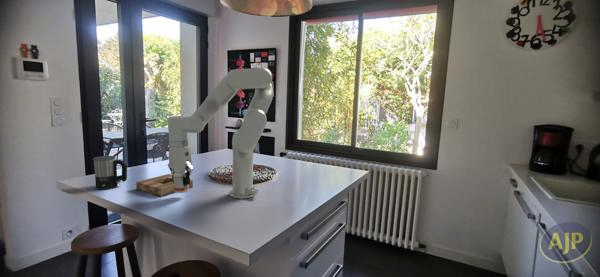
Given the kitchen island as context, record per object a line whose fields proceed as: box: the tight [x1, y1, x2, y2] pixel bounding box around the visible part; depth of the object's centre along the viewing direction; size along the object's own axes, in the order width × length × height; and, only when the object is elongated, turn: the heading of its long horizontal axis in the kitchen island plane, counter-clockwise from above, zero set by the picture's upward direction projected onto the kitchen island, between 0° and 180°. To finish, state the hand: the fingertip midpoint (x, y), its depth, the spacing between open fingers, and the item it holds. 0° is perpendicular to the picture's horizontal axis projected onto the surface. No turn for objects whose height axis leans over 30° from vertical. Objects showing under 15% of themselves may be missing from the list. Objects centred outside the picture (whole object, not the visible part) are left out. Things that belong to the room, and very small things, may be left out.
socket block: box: [135, 173, 194, 198], centre depth 144 cm, size 18×18×4 cm
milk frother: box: [92, 155, 128, 190], centre depth 146 cm, size 14×16×15 cm
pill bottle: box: [172, 168, 190, 194], centre depth 131 cm, size 6×6×11 cm
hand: (181, 183), depth 132 cm, fingers closed on pill bottle, 6 cm apart
